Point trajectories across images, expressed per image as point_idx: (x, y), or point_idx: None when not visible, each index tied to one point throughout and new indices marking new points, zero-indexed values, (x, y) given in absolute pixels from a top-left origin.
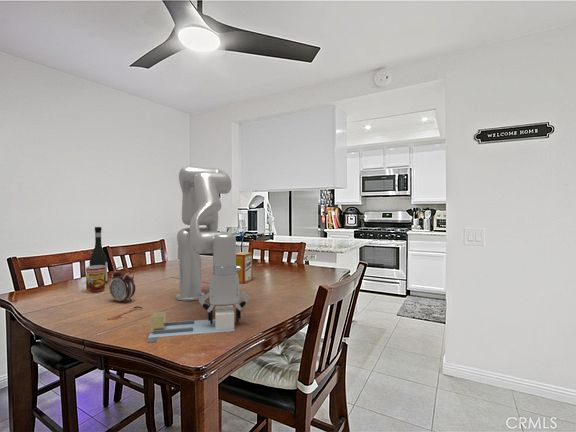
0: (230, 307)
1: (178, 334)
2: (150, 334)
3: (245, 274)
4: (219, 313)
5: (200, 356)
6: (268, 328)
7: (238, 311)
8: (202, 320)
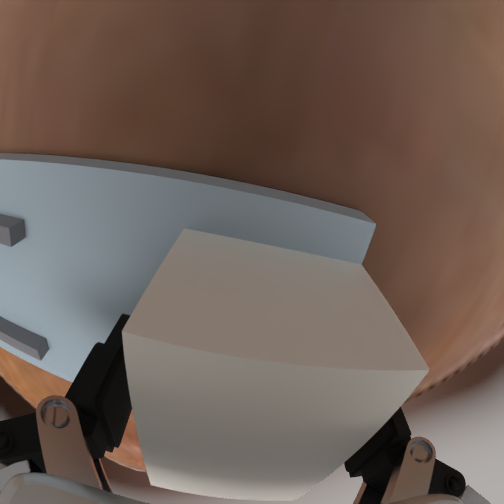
0: (351, 429)
1: (8, 346)
2: None
3: None
4: (182, 484)
5: (131, 453)
6: (451, 373)
7: (359, 470)
8: (69, 180)
